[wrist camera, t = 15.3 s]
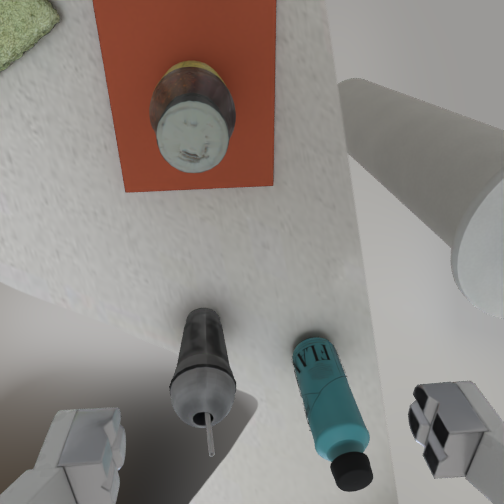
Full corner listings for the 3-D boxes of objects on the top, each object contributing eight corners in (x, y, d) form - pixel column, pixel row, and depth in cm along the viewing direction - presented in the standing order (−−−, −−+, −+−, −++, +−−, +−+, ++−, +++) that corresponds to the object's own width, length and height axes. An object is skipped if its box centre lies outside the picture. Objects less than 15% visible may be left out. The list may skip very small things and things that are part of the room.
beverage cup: (164, 323, 54) (145, 466, 37) (201, 289, 52) (200, 423, 35) (205, 350, 57) (205, 494, 40) (241, 319, 55) (259, 456, 38)
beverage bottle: (324, 322, 57) (377, 454, 40) (339, 353, 60) (394, 487, 43) (281, 339, 58) (315, 476, 40) (298, 369, 61) (336, 508, 44)
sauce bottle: (195, 139, 42) (190, 221, 25) (146, 93, 39) (103, 149, 22) (240, 91, 40) (269, 144, 23) (193, 40, 38) (184, 55, 20)
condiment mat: (275, -33, 36) (276, -34, 35) (272, 182, 46) (273, 185, 45) (89, -33, 35) (86, -34, 34) (126, 189, 45) (125, 192, 44)
